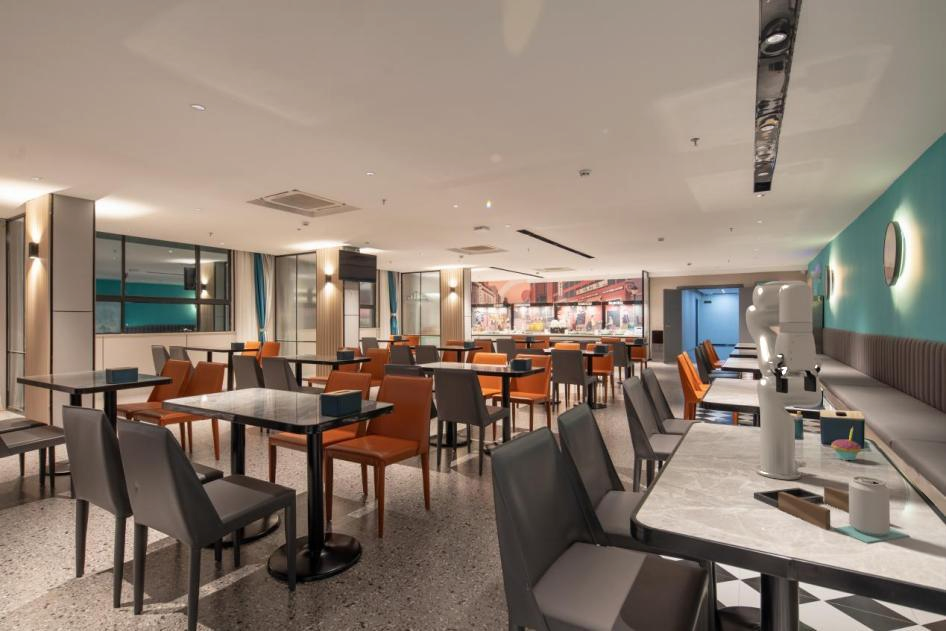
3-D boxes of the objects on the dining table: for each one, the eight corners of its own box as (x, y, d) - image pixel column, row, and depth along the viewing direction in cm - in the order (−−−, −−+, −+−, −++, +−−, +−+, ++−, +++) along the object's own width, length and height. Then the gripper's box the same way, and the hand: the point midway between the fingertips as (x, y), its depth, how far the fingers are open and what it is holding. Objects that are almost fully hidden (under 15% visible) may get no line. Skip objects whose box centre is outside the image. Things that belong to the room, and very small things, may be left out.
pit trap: (798, 492, 142) (798, 487, 142) (823, 501, 135) (823, 496, 135) (753, 498, 138) (753, 492, 138) (776, 507, 131) (776, 502, 131)
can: (892, 540, 111) (892, 486, 111) (851, 532, 114) (850, 481, 115) (886, 528, 117) (886, 477, 117) (847, 521, 121) (846, 472, 121)
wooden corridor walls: (828, 503, 134) (828, 486, 134) (879, 521, 122) (878, 503, 122) (778, 509, 130) (778, 492, 130) (825, 529, 117) (825, 510, 117)
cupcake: (859, 458, 177) (859, 425, 178) (862, 464, 170) (862, 429, 170) (830, 455, 182) (830, 422, 182) (832, 460, 175) (831, 426, 175)
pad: (875, 523, 121) (875, 522, 121) (909, 536, 113) (909, 535, 113) (834, 529, 117) (834, 528, 117) (866, 543, 110) (866, 541, 110)
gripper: (807, 328, 140) (808, 389, 140) (758, 329, 136) (759, 391, 135) (833, 329, 133) (834, 392, 133) (782, 329, 128) (782, 395, 128)
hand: (796, 391), depth 134 cm, fingers open, 9 cm apart
